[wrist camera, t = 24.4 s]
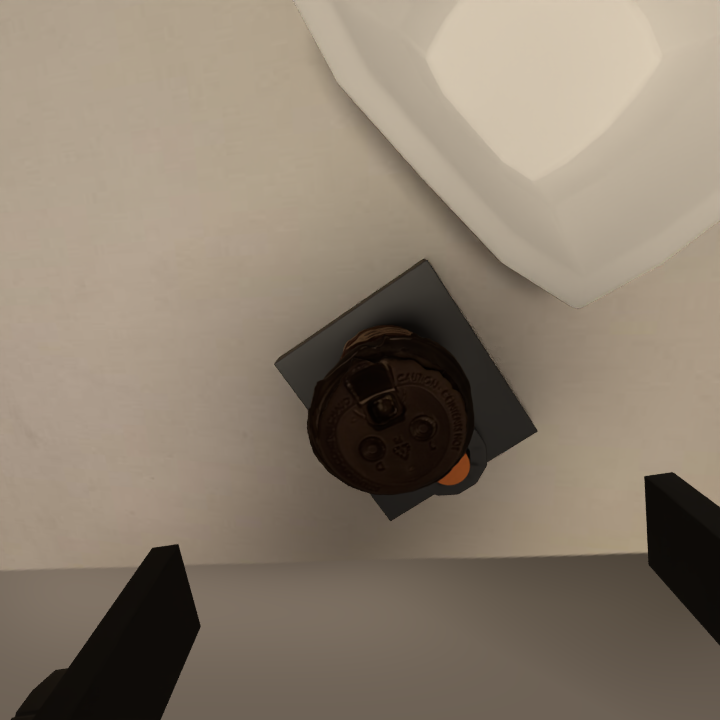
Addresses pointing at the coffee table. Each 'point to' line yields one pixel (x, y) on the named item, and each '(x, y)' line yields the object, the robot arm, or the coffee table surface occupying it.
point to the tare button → (457, 472)
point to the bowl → (546, 122)
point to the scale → (440, 324)
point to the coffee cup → (391, 413)
